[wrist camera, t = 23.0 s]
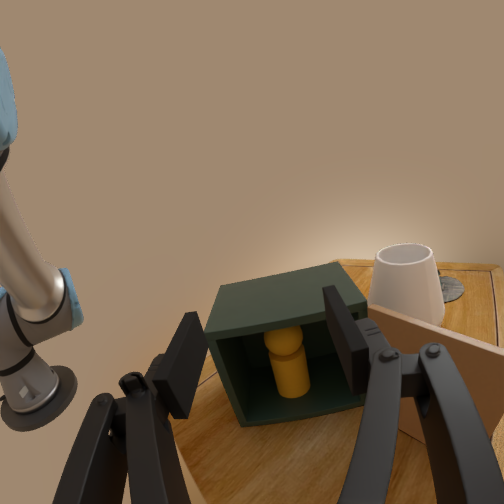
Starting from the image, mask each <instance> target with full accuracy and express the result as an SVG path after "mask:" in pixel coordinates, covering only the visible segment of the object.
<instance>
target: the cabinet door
mask: <svg viewBox="0 0 504 504" xmlns="http://www.w3.org/2000/svg"><path fill="white" fill-rule="evenodd" d="M367 310H368V318H370V319H371V320H373V321H375V323H376V324H377V326H378V328H379V329H380V330H381V332H382V333H383V335H384V336H385V338H386V339H387V341H388V343H389V344H390V346H391V347H394V348H396V349H398V350H399V351H400V352H401V354H415V353H419V350H420V348H421V347H422V346H423V345H425V344H427V343H433V342H435V343H440V344H442V345H444V346H445V347H446V349H447V350H448V352H449V354H450V356H451V358H452V360H453V361H454V363H455V365H456V367H457V369H458V371H459V373H460V375H461V377H462V379H463V381H464V383H465V385H466V387H467V389H468V391H469V393H470V395H471V397H472V399H473V401H474V403H475V406H476V408H477V410H478V412H479V415H480V417H481V419H482V422H483V424H484V426H485V429H486V431H487V434H488V436H489V438H490V437H491V435H492V433H493V432H494V430H495V428H496V427H497V425H498V423H499V421H500V419H501V418H502V416H503V414H504V349H503V348H500V347H497V346H494V345H491V344H488V343H485V342H482V341H479V340H477V339H474V338H471V337H468V336H465V335H462V334H459V333H456V332H453V331H450V330H447V329H444V328H442V327H439V326H436V325H433V324H430V323H427V322H424V321H421V320H418V319H416V318H413V317H410V316H407V315H404V314H401V313H398V312H395V311H393V310H390V309H387V308H384V307H381V306H378V305H375V304H371V305H369V306H368V307H367ZM398 428H399V429H400V430H402V431H404V432H405V433H407V434H408V435H410V436H412V437H413V438H415V439H417V440H419V441H420V442H422V443H424V444H425V445H426V443H425V439H424V435H423V431H422V427H421V423H420V419H419V416H418V412H417V409H416V405H415V402H414V398H413V397H405V398H401V399H400V412H399V423H398Z"/></svg>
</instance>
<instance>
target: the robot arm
mask: <svg viewBox="0 0 504 504" xmlns="http://www.w3.org/2000/svg"><path fill="white" fill-rule="evenodd" d="M14 98H15V97H14V90H13V85H12V81H11V77H10V72H9V68H8V65H7V62H6V58H5V56H4V53H3V51H2V50H1V48H0V284H1V285H2V287H0V382H1V385H2V388H3V391H4V394H5V395H3V396H2V397H1V398H0V401H2V400H4V399H5V398H6V399H7V402H8V404H9V406H10V407H11V408H12V410H13V411H14V412H15V413H17V414H19V415H28V414H32V413H34V412H37V411H39V410H40V409H42V408H44V407H45V406H46V405H48V404H49V403H50V402H51V401H52V400H53V399H54V397H55V396H56V395H57V393H58V391H59V389H60V385H61V381H60V379H59V377H58V375H57V374H56V372H55V371H54V370H53V369H52V368H50V367H49V366H48V364H47V363H46V362H45V361H44V360H43V359H41V357H39V355H38V354H37V353H36V352H35V350H34V348H33V346H34V345H36V344H38V343H40V342H43V341H45V340H48V339H50V338H52V337H55V336H57V335H59V334H62V333H64V332H66V331H71V330H73V329H74V328H75V327H77V326H79V325H81V324H82V323H83V314H82V310H81V307H80V304H79V302H78V299H77V295H76V292H75V289H74V285H73V282H72V279H71V276H70V273H69V270H68V269H67V268H62V269H61V268H60V269H57V268H56V267H55V266H54V265H52V264H51V263H49V262H46V261H44V260H43V258H42V256H41V254H40V252H39V250H38V248H37V247H36V244H35V243H34V241H33V239H32V237H31V234H30V233H29V230H28V228H27V226H26V224H25V222H24V220H23V218H22V215H21V213H20V211H19V208H18V206H17V204H16V201H15V199H14V196H13V194H12V191H11V189H10V186H9V183H8V180H7V178H6V175H5V172H4V169H5V167H6V165H7V162H8V160H9V156H10V146H9V145H10V144H12V143H13V141H14V140H15V138H16V135H17V128H18V123H17V110H16V105H15V102H14ZM322 290H323V298H324V305H325V313H326V321H327V327H328V329H329V332H330V335H331V337H332V340H333V343H334V345H335V348H336V351H337V354H338V356H339V359H340V362H341V365H342V368H343V370H344V373H345V376H346V379H347V382H348V385H349V388H350V391H351V393H352V396H357V395H360V394H364V393H367V394H366V399H365V404H364V409H363V414H362V419H361V423H360V428H359V432H358V436H357V440H356V444H355V448H354V452H353V455H352V459H351V462H350V466H349V469H348V472H347V476H346V479H345V482H344V485H343V488H342V491H341V494H340V497H339V500H338V502H337V504H385V499H386V495H387V491H388V486H389V482H390V477H391V471H392V466H393V460H394V454H395V447H396V440H397V432H398V423H399V412H400V399H401V398H405V397H413V398H414V402H415V405H416V409H417V412H418V416H419V419H420V423H421V427H422V431H423V435H424V439H425V443H426V447H427V451H428V456H429V460H430V465H431V470H432V475H433V481H434V486H435V492H436V499H437V504H504V480H503V477H502V474H501V470H500V467H499V464H498V461H497V458H496V455H495V452H494V450H493V447H492V444H491V442H490V439H489V436H488V434H487V431H486V429H485V426H484V424H483V422H482V419H481V417H480V415H479V412H478V410H477V408H476V406H475V403H474V401H473V399H472V397H471V395H470V393H469V391H468V389H467V387H466V385H465V383H464V381H463V379H462V377H461V375H460V373H459V371H458V369H457V367H456V365H455V363H454V361H453V360H452V358H451V356H450V354H449V352H448V350H447V349H446V347H445V346H444V345H442V344H440V343H435V342H433V343H427V344H425V345H423V346H422V347H421V348H420V350H419V353H415V354H401V352H400V351H399V350H398V349H396V348H394V347H391V346H390V344H389V343H388V341H387V339H386V338H385V336H384V335H383V333H382V332H381V330H380V329H379V328H378V326H377V324H376V323H375V321H373V320H371V319H370V318H364V319H360V320H356V321H354V319H353V317H352V315H351V313H350V312H349V310H348V308H347V306H346V304H345V303H344V301H343V299H342V297H341V296H340V294H339V292H338V290H337V289H336V287H335V285H330V286H326V287H322ZM208 347H209V345H208V342H207V340H206V337H205V334H204V331H203V329H202V326H201V323H200V320H199V317H198V314H197V311H195V312H188V313H185V315H184V317H183V319H182V321H181V322H180V324H179V326H178V328H177V330H176V332H175V334H174V336H173V338H172V340H171V342H170V344H169V346H168V348H167V350H166V352H165V354H159V355H158V356H157V357H155V358H154V359H153V361H152V363H151V365H150V367H149V369H148V371H147V372H146V374H145V376H144V377H143V375H142V374H141V373H140V372H131V373H128V374H126V375H125V376H123V377H122V378H121V379H120V380H119V385H120V387H121V389H122V390H123V392H124V394H125V395H126V397H123V398H118V399H114V398H113V396H112V395H111V394H110V393H102V394H99V395H97V396H96V397H95V398H94V399H93V400H92V402H91V404H90V406H89V409H88V411H87V413H86V416H85V418H84V420H83V422H82V425H81V427H80V430H79V432H78V434H77V437H76V439H75V442H74V444H73V447H72V449H71V452H70V454H69V458H68V460H67V462H66V465H65V468H64V471H63V473H62V476H61V479H60V482H59V485H58V488H57V491H56V494H55V497H54V500H53V503H52V504H122V499H123V494H124V488H125V483H126V477H127V473H128V476H129V487H130V496H131V504H191V502H190V498H189V495H188V492H187V488H186V485H185V481H184V478H183V474H182V470H181V466H180V462H179V458H178V454H177V450H176V446H175V441H174V437H173V432H172V427H171V423H170V421H169V420H168V415H169V412H170V413H171V415H172V417H173V418H174V419H188V417H189V413H190V410H191V406H192V403H193V399H194V396H195V392H196V389H197V385H198V382H199V378H200V375H201V371H202V368H203V364H204V361H205V358H206V354H207V350H208ZM109 430H110V435H108V432H109Z"/></svg>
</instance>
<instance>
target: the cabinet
mask: <svg viewBox="0 0 504 504" xmlns="http://www.w3.org/2000/svg"><path fill="white" fill-rule="evenodd" d="M330 285H335V287H336V289H337V290H338V292H339V294H340V296H341V297H342V299H343V301H344V303H345V304H346V306H347V308H348V310H349V312H350V313H351V315H352V317H353V319H354V321H356V320H360V319H364V318H368V310H367V307H368V304H367V300H366V298H365V297H364V296H363V294H362V293H361V292H360V290H359V289H358V287H357V286H356V285H355V283H354V282H353V281H352V279H351V278H350V277H349V275H348V274H347V273H346V272H345V270H344V269H343V268H342V266H341V265H340V264H339V262H338V261H337V262H333V263H328V264H324V265H320V266H315V267H310V268H306V269H301V270H296V271H291V272H287V273H282V274H277V275H272V276H267V277H262V278H257V279H252V280H247V281H242V282H237V283H232V284H226V285H221V286H220V288H219V291H218V294H217V296H216V299H215V302H214V305H213V308H212V310H211V313H210V316H209V319H208V321H207V324H206V327H205V330H204V334H205V337H206V340H207V342H208V345H209V350H210V352H211V355H212V358H213V361H214V363H215V366H216V368H217V371H218V373H219V376H220V378H221V381H222V383H223V386H224V388H225V391H226V393H227V395H228V398H229V400H230V403H231V405H232V407H233V410H234V412H235V414H236V417H237V419H238V421H239V424H240V426H241V427H249V426H259V425H267V424H275V423H282V422H289V421H295V420H301V419H306V418H311V417H317V416H321V415H326V414H331V413H335V412H339V411H343V410H347V409H351V408H355V407H359V406H362V405H364V404H365V399H366V394H367V393H364V394H360V395H357V396H352V393H351V391H350V388H349V385H348V382H347V379H346V376H345V373H344V370H343V368H342V365H341V362H340V359H339V356H338V354H337V351H336V348H335V345H334V343H333V340H332V337H331V335H330V332H329V329H328V327H327V321H326V313H325V305H324V298H323V290H322V287H326V286H330ZM298 325H299V326H300V327H301V329H302V333H303V340H302V344H303V345H304V349H305V355H306V361H307V367H308V373H309V379H310V388H309V390H308V391H307V392H306V393H305V394H304V395H302V396H300V397H297V398H286V397H283V396H282V395H280V394H279V392H278V389H277V385H276V381H275V377H274V373H273V370H272V366H271V362H270V358H269V349H268V348H267V347H266V345H265V342H264V332H267V331H273V330H278V329H283V328H289V327H294V326H298Z"/></svg>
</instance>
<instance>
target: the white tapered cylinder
mask: <svg viewBox="0 0 504 504" xmlns="http://www.w3.org/2000/svg"><path fill="white" fill-rule="evenodd" d="M367 304H368V306H369V305H371V304H375V305H378V306H381V307H384V308H387V309H390V310H393V311H395V312H398V313H401V314H404V315H407V316H410V317H413V318H416V319H418V320H421V321H424V322H427V323H430V324H433V325H436V326H439V327H440V326H441V323H442V320H443V317H444V314H445V306H444V301H443V295H442V290H441V285H440V280H439V276H438V271H437V267H436V263H435V259H434V255H433V252H432V250H431V248H429V247H427V246H425V245H421V244H416V243H402V244H395V245H391V246H387V247H385V248H383V249H381V250H379V251H378V252H377V253H376V256H375V262H374V268H373V274H372V280H371V285H370V290H369V295H368V300H367Z"/></svg>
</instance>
